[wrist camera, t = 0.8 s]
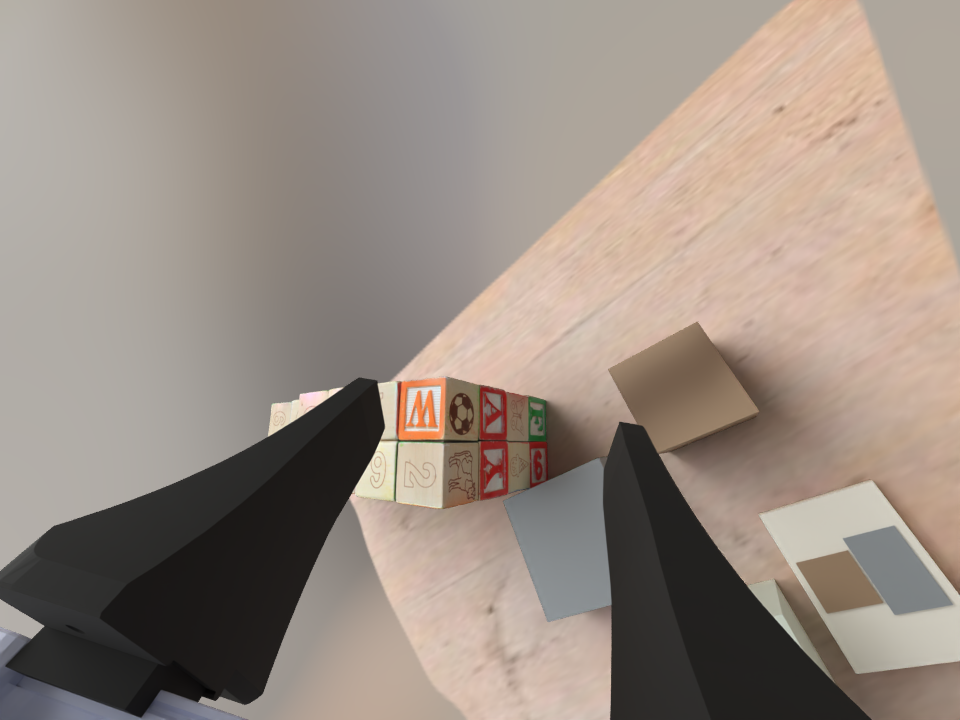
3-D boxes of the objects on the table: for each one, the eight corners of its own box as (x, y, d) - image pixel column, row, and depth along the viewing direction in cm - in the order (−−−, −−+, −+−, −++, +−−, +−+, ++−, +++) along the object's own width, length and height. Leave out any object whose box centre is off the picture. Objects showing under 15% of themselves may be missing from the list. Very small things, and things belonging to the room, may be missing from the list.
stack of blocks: (355, 470, 39) (221, 480, 29) (359, 408, 40) (232, 397, 30) (551, 485, 27) (440, 512, 17) (548, 397, 28) (444, 374, 18)
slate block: (675, 568, 22) (664, 590, 19) (572, 598, 25) (547, 622, 22) (616, 455, 25) (598, 457, 22) (530, 493, 28) (502, 500, 25)
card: (996, 648, 16) (1006, 656, 15) (853, 667, 18) (856, 675, 17) (869, 479, 18) (873, 481, 18) (758, 513, 20) (758, 515, 20)
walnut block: (755, 417, 21) (759, 411, 17) (668, 452, 23) (653, 454, 19) (704, 342, 23) (697, 321, 19) (629, 380, 25) (607, 369, 21)
